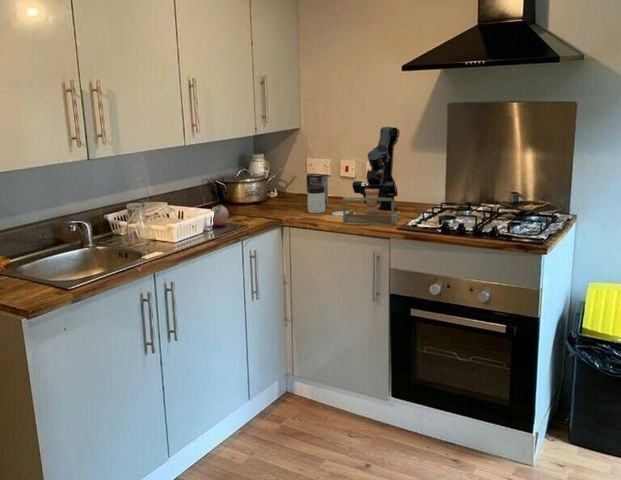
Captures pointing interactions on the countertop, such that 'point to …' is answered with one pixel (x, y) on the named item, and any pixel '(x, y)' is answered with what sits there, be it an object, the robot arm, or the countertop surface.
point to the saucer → (339, 213)
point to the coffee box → (318, 184)
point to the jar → (316, 199)
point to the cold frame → (369, 218)
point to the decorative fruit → (220, 215)
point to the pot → (372, 205)
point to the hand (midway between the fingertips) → (371, 203)
